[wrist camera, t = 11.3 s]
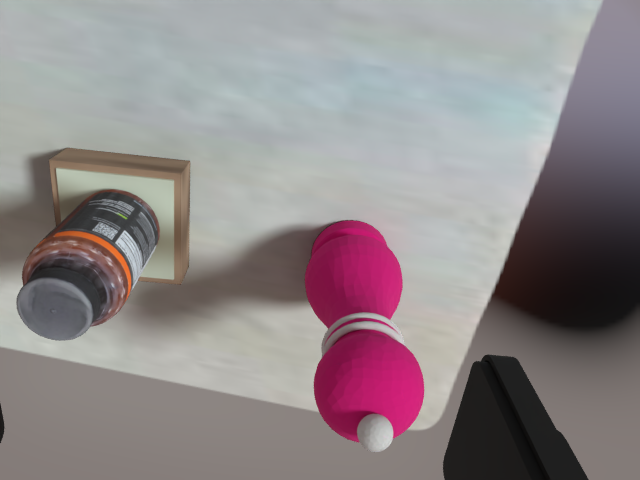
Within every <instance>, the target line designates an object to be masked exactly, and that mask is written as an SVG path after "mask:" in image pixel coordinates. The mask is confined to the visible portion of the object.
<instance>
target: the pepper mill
mask: <svg viewBox="0 0 640 480" xmlns="http://www.w3.org/2000/svg"><path fill="white" fill-rule="evenodd" d="M305 287H306V293H307V297H308V301H309V303H310V305H311V307H312V309H313V311H314V312H315V314H316V315H317V317H318V318H319V319H320V320H321V321H322V322H323V323H324V324H325V325H326V326H327V328H328V331H327V332H326V333H325V336H324V338H323V341H322V359H321V360H320V362H319V364H318V367H317V370H316V373H315V378H314V395H315V400H316V404H317V406H318V409H319V412H320V414H321V415H322V417H323V419H324V421H325V422H326V423H327V424H328V425H329V426H330V427H331V428H332V430H334V431H335V432H336V433H338V434H339V435H341V436H343V437H345V438H347V439H348V440H352V441H356V442H360V443H361V445H362V446H363V447H364V448H366V449H367V450H369V451H372V452H379V451H383V450H384V449H385V448H387V447H388V446H389V445H390V443H391V442H392V439H393V438H395V437H397V436H399V435H400V434H402V433H403V432H404V431H405V430H407V429H408V428H409V427H410V426H411V424H412V423H413V422H414V421H415V419H416V417H417V416H418V414H419V411H420V409H421V406H422V403H423V398H424V381H423V375H422V372H421V369H420V366H419V364H418V362H417V360H416V358H415V357H414V355H413V354H412V353H411V352H410V350H408V349H407V348H406V346H405V344H404V339H403V335H402V333H401V331H400V329H399V328H398V327H397V326H396V325H395V323H393V322H392V321H391V320H390V319H391V317H392V315H393V314H394V312H395V310H396V309H397V306H398V303H399V301H400V297H401V292H402V273H401V268H400V265H399V262H398V260H397V258H396V257H395V255H394V254H393V252H392V251H391V250H390V249H389V248H388V247H387V244H386V241H385V239H384V237H383V236H382V235H381V234H380V232H379V231H378V230H376V229H375V228H374V227H373V226H371V225H369V224H367V223H364V222H360V221H342V222H338V223H335V224H333V225H331V226H329V227H327V228H326V229H325V230H323V231H322V233H321V234H320V235H319V236H318V237H317V239H316V240H315V242H314V245H313V248H312V254H311V259H310V261H309V263H308V266H307V269H306V273H305Z"/></svg>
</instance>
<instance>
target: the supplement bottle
mask: <svg viewBox="0 0 640 480" xmlns="http://www.w3.org/2000/svg"><path fill="white" fill-rule="evenodd" d="M159 237H160V227H159V222H158V219H157V217H156V215H155V213H154V211H153V210H152V208H151V207H150V206H149V205H148V204H147V203H146V202H145V201H143V200H142V199H141V198H139V197H138V196H136V195H134V194H132V193H130V192H127V191H123V190H118V189H108V190H102V191H99V192H96V193H94V194H92V195H90V196H89V197H87V198H86V199H85V200H84V201H82V202H81V203H80V204H79V205H78V206H77V207H76V208H75V209H74V210H73V211H72V212H71V213H70V214H69V215H68V216H67V217H66V218H65V219H64V220H63V221H62V222H61V223H60V224H59V225H58V226H57V227H56V228H55V229H54V230H53V231H51V232H50V233H49V234H48V235H47V236H46V237H45V238H44V239H43V240H42V241H41V242H40V243H39V244H38V245H37V246H36V247H35V248H34V249H33V250H32V252H31V253H30V255H29V256H28V257H27V259H26V262H25V264H24V267H23V272H22V280H23V287H22V288H21V290H20V292H19V294H18V296H17V309H18V313H19V315H20V317H21V319H22V321H23V322H24V323H25V325H27V326H28V328H29V329H31V330H32V331H33V332H35V333H37V334H38V335H40V336H43V337H45V338H48V339H52V340H71V339H74V338H77V337H79V336H81V335H82V334H84V333H85V332H86V331H87V330H88V329H89V327H91V326H96V325H99V324H102V323H104V322H106V321H108V320H109V319H111V318H112V317H113V316H114V315H115V314H117V312H118V311H119V310H120V309H121V307H122V306H123V305H124V303H125V301H126V299H127V298H128V297H129V295H130V293H131V291H132V289H133V288H134V286H135V284H136V283H137V281H138V279H139V277H140V275H141V274H142V272H143V270H144V268H145V267H146V265H147V263H148V261H149V259H150V258H151V256H152V254H153V252H154V250H155V248H156V246H157V244H158V241H159Z"/></svg>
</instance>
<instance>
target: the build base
mask: <svg viewBox="0 0 640 480" xmlns="http://www.w3.org/2000/svg"><path fill="white" fill-rule="evenodd" d="M49 165H50V174H51V183H52V193H53V202H54V211H55V221H56V227H57V226H58V225H59V224H60V223H61V222H62V221H63V220H64V219H65V218H66V217H67V216H68V215H69V214H70V213H71V212H72V211H73V210H74V209H75V208H76V207H77V206H78V205H79V204H80V203H81V202H82V201H84V200H85V199H86V198H87V197H89V196H90V195H92V194H94V193H96V192H99V191H102V190H108V189H118V190H123V191H127V192H130V193H132V194H134V195H136V196H138V197H139V198H141V199H142V200H143V201H145V202H146V203H147V204H148V205H149V206H150V207H151V208H152V210H153V211H154V213H155V215H156V217H157V219H158V222H159V227H160V237H159V241H158V244H157V246H156V248H155V250H154V252H153V254H152V256H151V258H150V259H149V261H148V263H147V265H146V267H145V268H144V270H143V272H142V274H141V275H140V277H139V279H138V281H146V282H157V283H168V284H179V285H181V283H182V281H183V278H184V276H185V274H186V272H187V269H188V267H189V215H190V161H185V160H176V159H166V158H157V157H148V156H138V155H129V154H120V153H111V152H101V151H92V150H83V149H73V148H66V149H65V150H63V151H62V152H60V153H59V154H57V155H56V156H54V157H53V158H51V159H49Z"/></svg>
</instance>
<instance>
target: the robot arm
mask: <svg viewBox="0 0 640 480" xmlns="http://www.w3.org/2000/svg"><path fill="white" fill-rule="evenodd" d="M3 434H4V421H3V415H2V410H1V405H0V443H1V440H2V438H3ZM443 472H444V478H445V480H588V478H587V476H586V474H585V472H584V471H583V469H582V467H581V466H580V464H579V462H578V460H577V458H576V456H575V455H574V453H573V451H572V449H571V448H570V446H569V444H568V442H567V440H566V439H565V438H564V436H563V435H562V434H561V432H559V431H558V430H556V428H555V426H554V424H553V423H552V421H551V419H550V417H549V415H548V413H547V412H546V410H545V408H544V406H543V404H542V403H541V401H540V399H539V397H538V395H537V394H536V392H535V390H534V388H533V386H532V385H531V383H530V381H529V379H528V378H527V375H526V374H525V372H524V370H523V368H522V367H521V365H520V363H519V361H518V360H517V359H516V358H514V357H508V356H496V355H485V356H484V357H483V358H482V360H481V362H479V361H476V362H474V363H473V365H472V368H471V371H470V374H469V378H468V382H467V384H466V388H465V391H464V394H463V397H462V401H461V404H460V407H459V411H458V414H457V418H456V420H455V424H454V427H453V430H452V434H451V437H450V440H449V443H448V447H447V450H446V453H445V456H444V462H443Z"/></svg>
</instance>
